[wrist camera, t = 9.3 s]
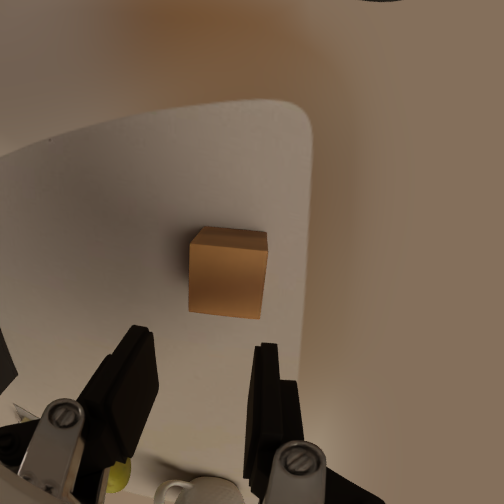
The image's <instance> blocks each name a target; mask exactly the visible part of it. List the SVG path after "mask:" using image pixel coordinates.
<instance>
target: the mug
mask: <svg viewBox="0 0 504 504" xmlns="http://www.w3.org/2000/svg"><path fill="white" fill-rule="evenodd" d="M173 485H178V486H181V487H183V488H184V489H183V490H182V491H181V493H180V494H179V496H178V498H177V499H176V502H175V504H245V502H244V499H243V496H242V494H241V493H240V491H239V489H238V488H237V487H236V486H235V485H234V484H233V483H232V482H230V481H228V480H225V479H222V478H217V477H198V478H195V479H193V480H192V481H191V482H190V483H189V482H186V481H181V480H169V481H166V482H164V483H162V484H161V485H160V486H159V487H158V489H157V490H156V493H155V496H154V504H164V499H165V494H166V492H167V490H168V489H169V488H170V487H171V486H173Z"/></svg>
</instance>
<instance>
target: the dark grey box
mask: <svg viewBox="0 0 504 504" xmlns="http://www.w3.org/2000/svg"><path fill="white" fill-rule="evenodd" d="M17 375H18V373H17V371H16V368H15V366H14V364H13V361H12V359H11V356H10V354H9V351H8V349H7V346H6V343H5V341H4V338H3V335H2V332H1V329H0V395H1V394H2V392H3V391H4V390H5V389H6V388H7V387H8V386H9V384H10V383H11V382H12V381H13V380H14V379H15V377H17Z"/></svg>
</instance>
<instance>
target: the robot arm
mask: <svg viewBox="0 0 504 504" xmlns="http://www.w3.org/2000/svg"><path fill="white" fill-rule="evenodd" d="M158 390H159V381H158V373H157V365H156V357H155V347H154V337H153V333H152V332H149V329H148V328H147V327H143V326H137V325H132V326H131V328H130V329H129V330H128V332H127V333H126V335H125V336H124V337H123V339H122V340H121V342H120V343H119V345H118V346H117V348H116V349H115V350H114V352H113V353H112V355H111V354H109V355H107V356H106V357H105V359H104V360H103V361H102V363H101V364H100V366H99V367H98V369H97V370H96V372H95V373H94V375H93V376H92V377H91V379H90V380H89V382H88V383H87V385H86V386H85V388H84V389H83V391H82V392H81V394H80V396H79V397H78V399H77V400H76V401H75V400H72V399H67V398H62V399H57V400H55V401H52V402H51V403H50V404H49V405H48V406H47V407H46V409H45V410H44V412H43V415H42V417H41V418H40V419H35V420H31V421H27V422H22V423H18V424H13V425H8V426H3V427H0V504H104V500H105V494H106V489H107V483H108V478H109V472H110V467H111V466H114V465H115V462H116V461H117V462H120V463H123V464H125V463H126V461H127V458H132V457H133V455H134V452H135V450H136V447H137V444H138V442H139V439H140V437H141V434H142V431H143V429H144V426H145V424H146V421H147V418H148V416H149V413H150V411H151V408H152V406H153V403H154V401H155V398H156V396H157V393H158ZM243 478H244V479H249V486H250V487H251V492H252V493H253V494H254V495H256V496H257V497H258V498H259V502H258V504H385V502H384V501H383V500H381V499H380V498H379V497H377V496H375V495H374V494H372V493H370V492H368V491H366V490H364V489H363V488H361V487H359V486H357V485H356V484H354V483H352V482H350V481H349V480H347V479H345V478H344V477H342V476H340V475H339V474H337V473H335V472H334V471H332V470H331V469H329V468H328V467H326V457H325V454H324V453H323V451H322V450H321V449H320V448H319V447H318V446H317V445H315V444H313V443H310V442H307V441H304V434H303V426H302V418H301V410H300V403H299V395H298V388H297V382H296V381H294V380H280V374H279V360H278V347H277V344H274V343H261V346H255V350H254V358H253V365H252V373H251V380H250V388H249V395H248V404H247V420H246V437H245V453H244V470H243Z"/></svg>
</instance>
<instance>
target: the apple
mask: <svg viewBox="0 0 504 504" xmlns="http://www.w3.org/2000/svg"><path fill="white" fill-rule="evenodd" d="M130 473H131V461H130V458H127V461H126V463H125V464H123V463H120V462H117V461H116V462H115V465H114V466H111V467H110V472H109V478H108V483H107V489H106V493H116V492H118V491H121V490H122V489H123V488H124V487H125V486H126V485H127V483H128V481H129V478H130Z"/></svg>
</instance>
